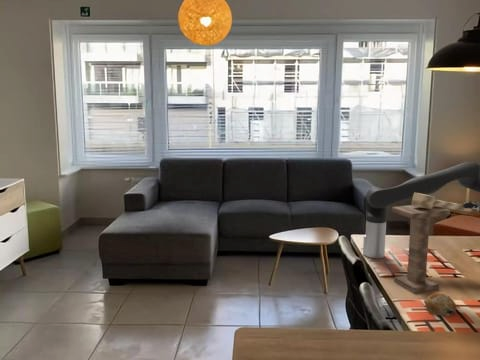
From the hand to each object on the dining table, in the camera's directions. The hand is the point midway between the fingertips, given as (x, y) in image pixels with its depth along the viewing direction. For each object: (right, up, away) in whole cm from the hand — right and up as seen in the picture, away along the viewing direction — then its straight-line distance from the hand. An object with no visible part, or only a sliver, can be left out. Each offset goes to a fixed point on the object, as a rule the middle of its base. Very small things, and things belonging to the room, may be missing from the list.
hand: (471, 207), depth 186 cm
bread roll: (-20, -36, -16) cm, 44 cm away
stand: (-20, -32, +6) cm, 38 cm away
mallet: (-12, -1, +3) cm, 12 cm away
